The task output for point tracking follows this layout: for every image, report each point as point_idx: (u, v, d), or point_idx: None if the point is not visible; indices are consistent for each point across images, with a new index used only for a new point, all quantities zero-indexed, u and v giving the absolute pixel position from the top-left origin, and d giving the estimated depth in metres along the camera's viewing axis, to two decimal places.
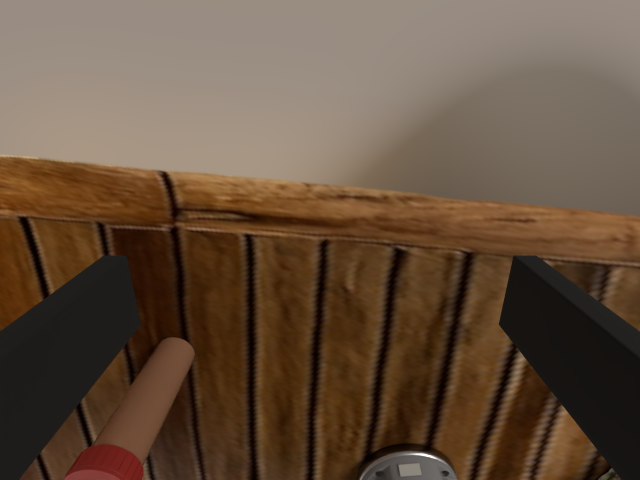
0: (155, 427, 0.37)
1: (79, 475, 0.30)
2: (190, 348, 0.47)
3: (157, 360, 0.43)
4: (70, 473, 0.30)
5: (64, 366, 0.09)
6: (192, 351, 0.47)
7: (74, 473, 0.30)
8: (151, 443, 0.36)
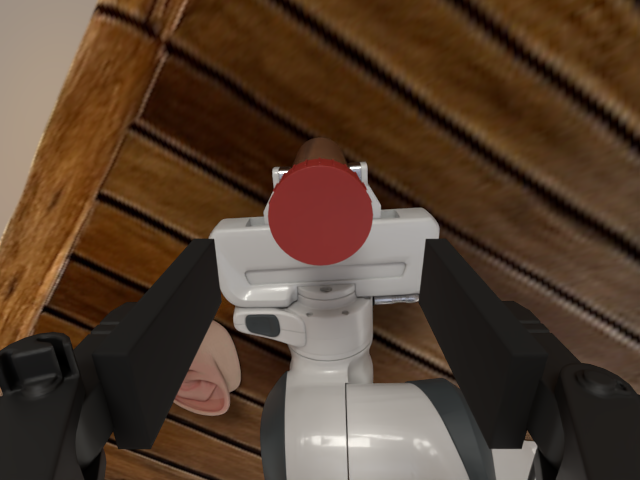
0: (333, 157, 0.25)
1: (277, 212, 0.20)
2: (321, 138, 0.36)
3: None
4: (269, 222, 0.20)
5: (185, 329, 0.11)
6: (326, 138, 0.36)
7: (270, 216, 0.20)
8: None
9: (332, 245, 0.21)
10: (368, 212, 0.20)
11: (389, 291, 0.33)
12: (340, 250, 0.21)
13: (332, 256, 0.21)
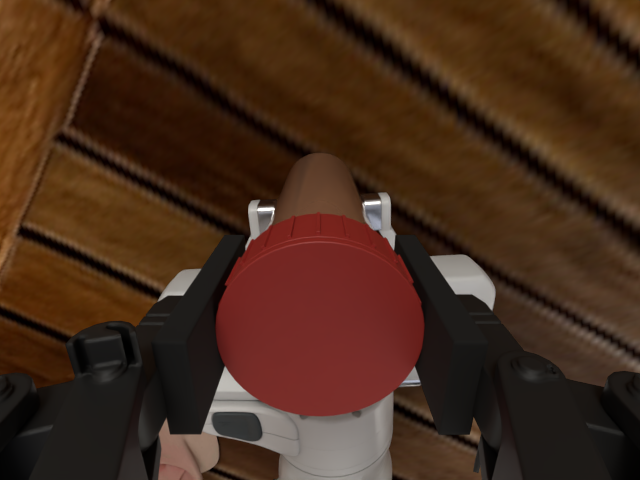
0: (340, 197, 0.15)
1: (233, 329, 0.10)
2: (322, 153, 0.26)
3: None
4: (218, 345, 0.10)
5: None
6: (329, 155, 0.26)
7: (219, 334, 0.10)
8: (357, 214, 0.14)
9: (343, 384, 0.11)
10: (416, 328, 0.10)
11: None
12: (358, 392, 0.11)
13: (342, 402, 0.11)
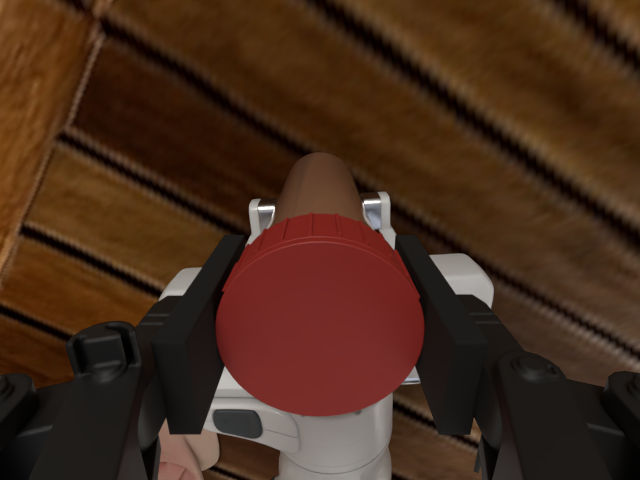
0: (340, 196, 0.15)
1: (275, 394, 0.11)
2: (322, 153, 0.26)
3: None
4: (287, 410, 0.11)
5: None
6: (329, 154, 0.26)
7: (276, 405, 0.11)
8: (356, 212, 0.14)
9: (383, 340, 0.10)
10: (353, 255, 0.09)
11: None
12: (401, 332, 0.10)
13: (404, 349, 0.10)
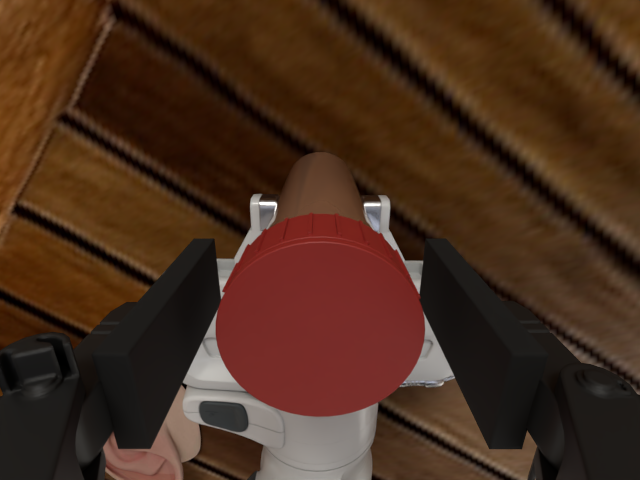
0: (344, 197, 0.15)
1: (356, 398, 0.11)
2: (324, 153, 0.26)
3: (286, 181, 0.23)
4: (381, 397, 0.11)
5: (184, 329, 0.11)
6: (331, 155, 0.26)
7: (368, 403, 0.11)
8: (360, 213, 0.14)
9: (356, 291, 0.10)
10: (251, 274, 0.09)
11: None
12: (357, 272, 0.09)
13: (378, 278, 0.09)
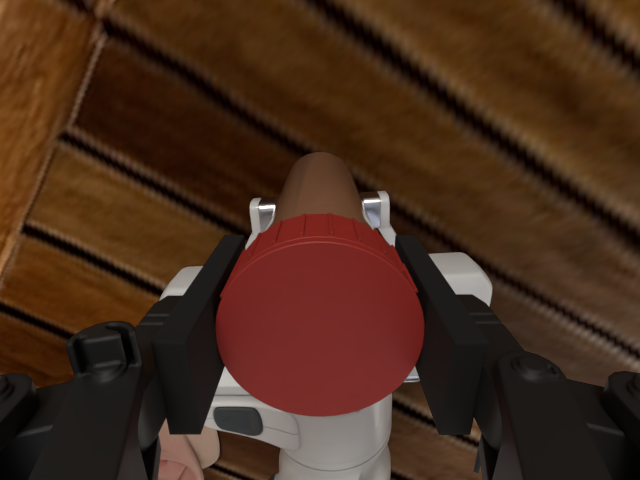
0: (340, 195, 0.15)
1: (361, 396, 0.11)
2: (322, 153, 0.26)
3: None
4: (386, 394, 0.11)
5: None
6: (329, 154, 0.26)
7: (373, 400, 0.11)
8: (356, 211, 0.14)
9: (352, 289, 0.09)
10: (246, 279, 0.09)
11: None
12: (351, 270, 0.09)
13: (373, 275, 0.09)
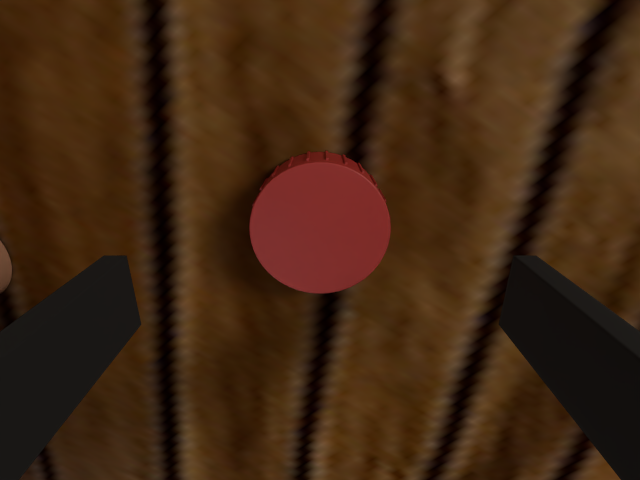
0: None
1: (348, 277, 0.16)
2: None
3: None
4: (366, 276, 0.16)
5: (64, 366, 0.09)
6: None
7: (357, 280, 0.16)
8: None
9: (341, 196, 0.14)
10: (271, 189, 0.14)
11: None
12: (340, 182, 0.14)
13: (354, 186, 0.14)
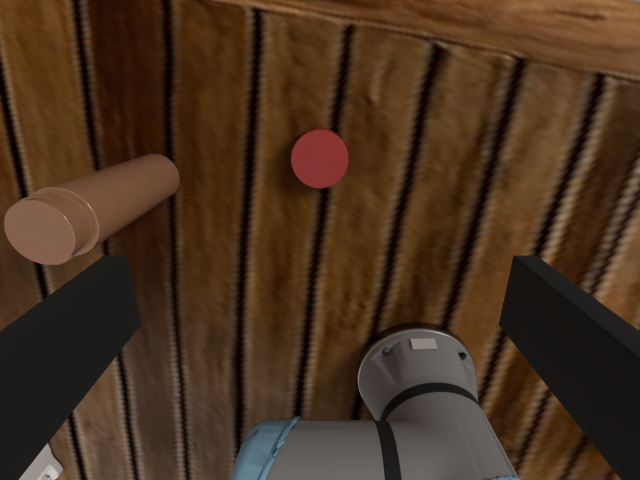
0: (124, 205, 0.28)
1: (331, 180, 0.37)
2: (175, 169, 0.39)
3: (133, 160, 0.34)
4: (339, 179, 0.37)
5: (64, 366, 0.09)
6: (177, 173, 0.39)
7: (335, 181, 0.37)
8: (116, 217, 0.27)
9: (328, 144, 0.36)
10: (300, 141, 0.36)
11: None
12: (327, 138, 0.36)
13: (333, 139, 0.36)
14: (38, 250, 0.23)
